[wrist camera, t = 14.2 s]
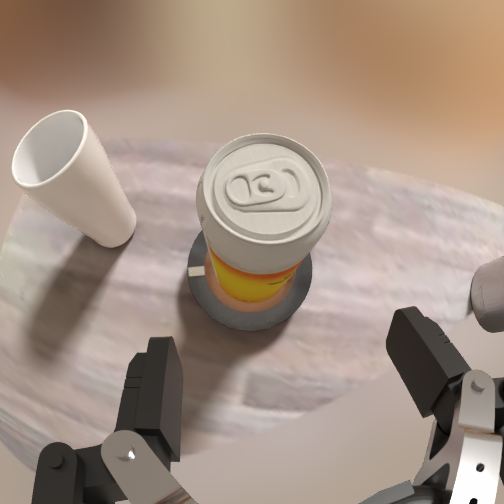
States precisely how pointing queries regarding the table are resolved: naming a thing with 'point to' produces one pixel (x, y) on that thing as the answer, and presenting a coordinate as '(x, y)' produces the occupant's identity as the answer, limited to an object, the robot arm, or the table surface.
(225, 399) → the table surface
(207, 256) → the disc
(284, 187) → the beer can
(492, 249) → the table surface
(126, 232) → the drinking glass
